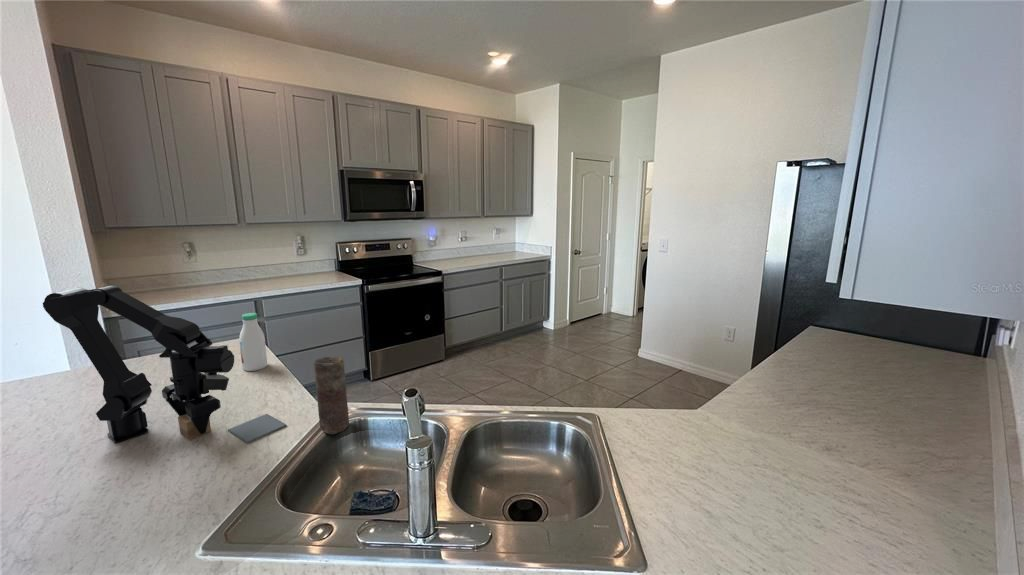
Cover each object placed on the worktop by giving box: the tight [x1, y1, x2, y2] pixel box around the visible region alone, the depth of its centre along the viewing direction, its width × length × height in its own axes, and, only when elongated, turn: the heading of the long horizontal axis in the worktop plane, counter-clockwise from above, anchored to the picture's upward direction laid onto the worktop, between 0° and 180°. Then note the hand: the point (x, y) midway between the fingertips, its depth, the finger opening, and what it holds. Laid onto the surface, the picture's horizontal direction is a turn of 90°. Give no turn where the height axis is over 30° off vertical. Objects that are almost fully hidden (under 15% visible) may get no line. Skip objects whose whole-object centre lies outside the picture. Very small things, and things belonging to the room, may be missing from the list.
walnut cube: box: [177, 414, 212, 441], centre depth 107 cm, size 5×5×5 cm
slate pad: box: [227, 413, 287, 445], centre depth 110 cm, size 10×10×1 cm
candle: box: [313, 356, 350, 435], centre depth 109 cm, size 8×7×20 cm
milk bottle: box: [238, 312, 268, 372], centre depth 146 cm, size 8×8×20 cm
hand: (195, 427), depth 107 cm, fingers open, 9 cm apart
